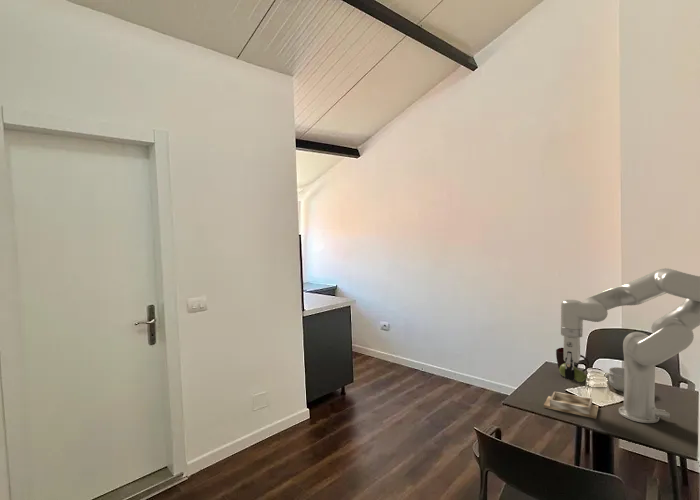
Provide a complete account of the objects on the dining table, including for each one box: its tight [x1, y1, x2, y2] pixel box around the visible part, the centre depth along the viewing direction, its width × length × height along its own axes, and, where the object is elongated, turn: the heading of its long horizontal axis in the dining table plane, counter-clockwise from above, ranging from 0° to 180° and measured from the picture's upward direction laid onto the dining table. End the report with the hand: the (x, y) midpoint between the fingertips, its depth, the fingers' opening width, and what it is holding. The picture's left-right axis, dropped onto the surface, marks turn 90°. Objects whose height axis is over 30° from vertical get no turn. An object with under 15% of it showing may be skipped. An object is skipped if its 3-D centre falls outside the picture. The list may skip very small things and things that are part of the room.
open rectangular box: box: [543, 391, 599, 419], centre depth 164 cm, size 18×10×4 cm, turn 55°
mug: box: [555, 347, 590, 378], centre depth 197 cm, size 10×14×12 cm
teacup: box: [604, 366, 624, 393], centre depth 181 cm, size 14×11×8 cm
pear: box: [558, 363, 588, 383], centre depth 163 cm, size 6×5×10 cm
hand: (570, 376), depth 164 cm, fingers closed on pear, 6 cm apart
